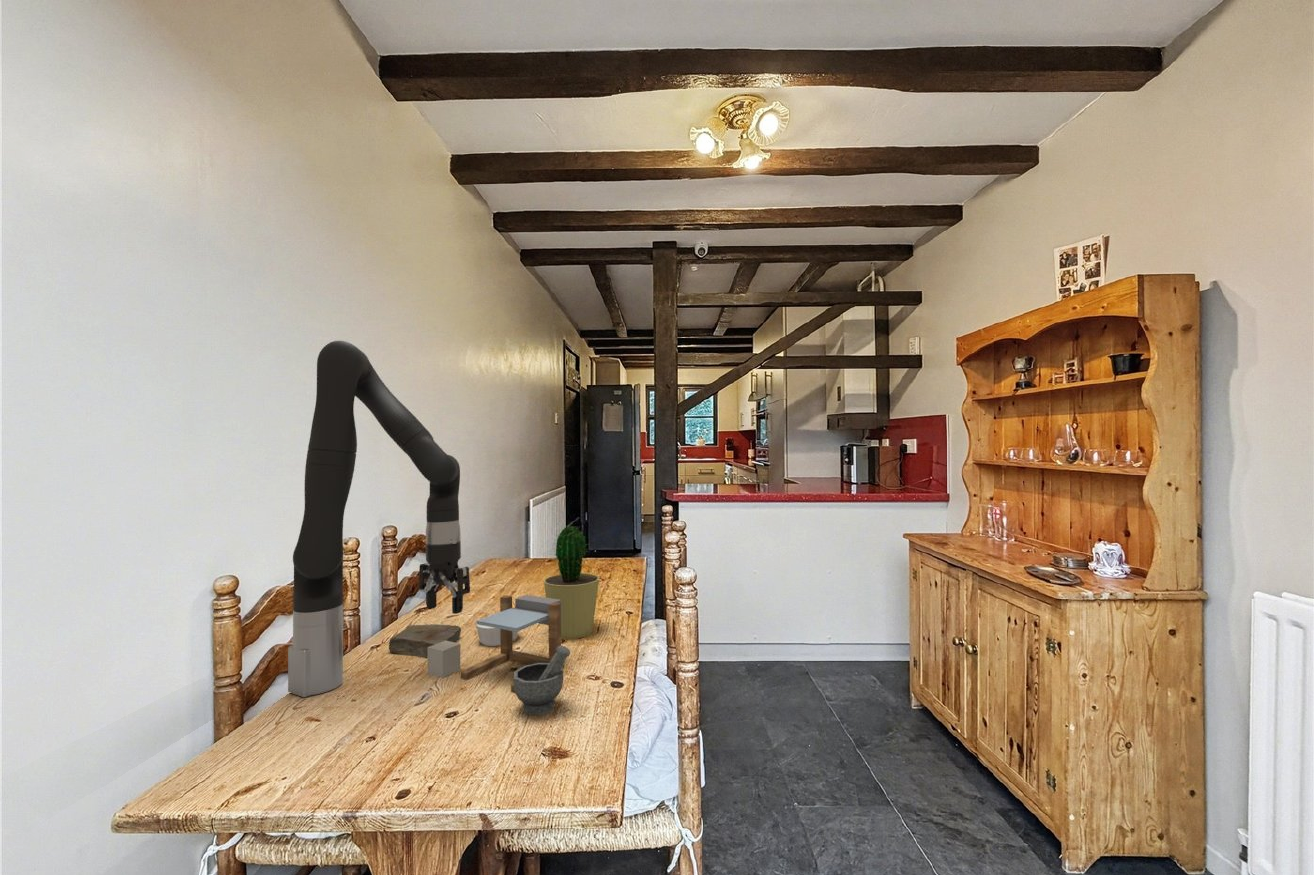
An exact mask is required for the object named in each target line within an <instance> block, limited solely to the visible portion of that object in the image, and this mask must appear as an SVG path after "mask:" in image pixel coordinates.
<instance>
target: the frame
mask: <svg viewBox="0 0 1314 875" xmlns="http://www.w3.org/2000/svg"><path fill="white" fill-rule="evenodd" d="M499 600H500V601H499V604H500V605H499V606H500V607H499V610H500V612H502V611H505V610H507V609H510V608H513V596H512V595H507V594H506V595H502V596H500V599H499ZM548 619H549V625H548V657H546V656H541V655H537V654H536V655H535V654H532V653H528V652H523V651H517V650H514V649H513V647H514V646H513V642H514V641H513V636H512V631H509V630H504V629H500V642H501V646H500V652H499V654H496V655H494V656H492V657H489V658H487V659H485V660H482V661H480V662H478V663H476V664H474V665H471V666H470V667H467V668H465V669H463V670H461V671H460V679H462V680H466V681H468V680H470V679H473V678H474V677H476V676H478V675H480V674H482V673H485V672H486V671H489V670H491V669H493V668H495V667H497V666H498V665H501V664H503V663H505V662H508V661H514V662H516V663H517V662H518V663H521V664H525V665H526V664H527V665H531V664H535V663H550V661H551V660H552V658H553V656H554V655H555V653H556V652H557V647H558V646H560V645H561V646H562V639H561V603H555V602H554V603H551V604H549V605H548ZM564 664H565V663H564ZM564 664H563V666H562V668H563V669H564V666H565V665H564ZM510 692H511V693H512V692H513V693H515V689H514V682H513V683H511V684H510Z"/></svg>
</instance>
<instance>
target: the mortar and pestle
mask: <svg viewBox="0 0 1314 875" xmlns="http://www.w3.org/2000/svg"><path fill="white" fill-rule="evenodd" d="M570 655H571V651H570V649H569V647H567V646H565V645H562V644H561V645H560V646H558V647H557V652H556V653H555V655H554V656H553V658H552V660H551V661H550V663H535V664H531V665H530V664H527V665H523V666H522V667H520V668H518V669H516V670H515V671H514V672H513V683H514V689H515V692H514V694H515V696H516V697H517V699H518V700H519V701H520V702H522V706H523V707H522V709H523V711H522V712H523V713H524V714H526V715H529V716H542V715H545V714H549V713H550V712H551V711H553V710H555V699H556V698H557V697H558V696H559V694H560V693H561V691H562V689H563V685H564V668H562V666H563V664H565V663H566V660H567V658H568V657H570Z"/></svg>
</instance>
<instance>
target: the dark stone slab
mask: <svg viewBox="0 0 1314 875" xmlns="http://www.w3.org/2000/svg"><path fill="white" fill-rule="evenodd" d="M461 632H462V628H461V626H460V625H451V624H437V623H436V624H413V625H412V624H411V625H408V626H407V627H405V628H404V629H403V630H402V631H400V632H397V633H396V634H395V635H393V636H392V637H391V638H390V639H389V642H388V650H389V651H390V652H391V653H393V654H395V655H399V656H409V657H411V656H412V657H416V658H422V659H428V651H427V647H430V646H432V645H435V644H438V643H440V642H443V641H450V642H454V643H457V642H458V641H459V640H460V638H461V634H462V633H461Z"/></svg>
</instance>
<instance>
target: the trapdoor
mask: <svg viewBox="0 0 1314 875" xmlns="http://www.w3.org/2000/svg"><path fill="white" fill-rule="evenodd" d="M514 602H515V603H514V605H515V606H514V607H512V608H510V609H507V610H505V611H502V612H497V613H494V614H491V615H488V616H486V617H484V618H481V619H478V620H476V624H478V625H483V626H488V627H494V628H499V629H504V630H509V631H515V632H518V633H519V632H520V631H522V630H525V629H527V628H529V627H531V626H534V625H536V624H538V625H539V624H540V625H546V626H549V619H548V605H549V604H551V603H554V602H555V603H561V600H559V599H552V598H546V596H545V597H544V596H536V595H532V594H525V595H522V596H520V597H516V598H514ZM561 621H562V611H561Z"/></svg>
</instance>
